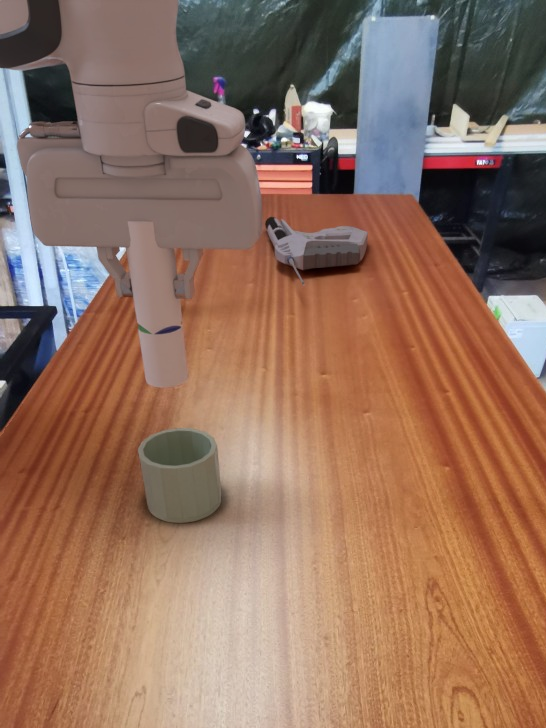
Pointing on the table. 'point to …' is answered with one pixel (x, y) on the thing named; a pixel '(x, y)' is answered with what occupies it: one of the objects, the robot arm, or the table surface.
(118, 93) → the robot arm
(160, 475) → the pale green hollow cylinder
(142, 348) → the tube
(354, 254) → the power tool
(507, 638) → the table surface
